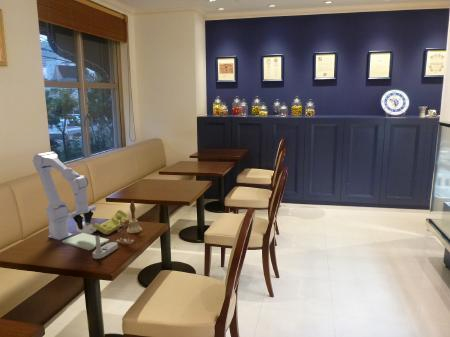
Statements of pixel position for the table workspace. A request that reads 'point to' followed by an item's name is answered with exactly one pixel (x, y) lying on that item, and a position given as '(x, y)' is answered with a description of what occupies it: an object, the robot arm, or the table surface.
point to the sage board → (84, 241)
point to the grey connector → (86, 228)
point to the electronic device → (103, 248)
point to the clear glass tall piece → (122, 240)
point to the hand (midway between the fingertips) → (84, 227)
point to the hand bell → (133, 221)
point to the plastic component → (111, 223)
